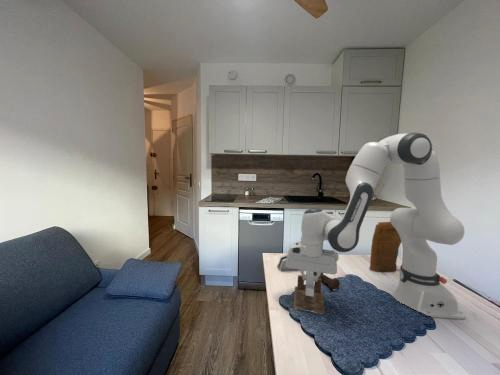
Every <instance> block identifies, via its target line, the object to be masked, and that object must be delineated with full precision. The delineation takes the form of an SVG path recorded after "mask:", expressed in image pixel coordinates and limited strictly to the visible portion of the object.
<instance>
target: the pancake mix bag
mask: <svg viewBox="0 0 500 375" xmlns="http://www.w3.org/2000/svg"><path fill="white" fill-rule="evenodd" d="M373 232H374V233H373V236H372V240H371V246H370V247H371V249H370V263H369V269H368V270H369V271H372V272H376V273H385V272H396V271H397V270H398V269H397V267H398V266H397V260H398V256H399V249H400V247H401V246H400V245H402V242H401V239H400V236H399V234H398V232H397V231H396V229H395V228H394V227H393V226H392V224H391V221H382V222H377V224H375V227H374V231H373Z"/></svg>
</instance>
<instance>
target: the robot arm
mask: <svg viewBox="0 0 500 375" xmlns="http://www.w3.org/2000/svg"><path fill="white" fill-rule="evenodd" d="M389 163H390V164H399V165H400V164H402V166H403V169H404V172H403V180H404V196H405V198H406V200H408V201H409V202H410V203H411V204H412V205H413V206H414V207H415V208H413V207H397V208H395V209H394V210H393V211H392V212H391V215H390V221H389V222H391V224H392V226H393V227H394V228H395V229H396V231H397V232H398V234H399V236H400V239H401V245H402V259H401V260H402V262H401V265H400V268H399V269H400V270H399V274H398V275H399V276H398V277H399V282H398V286H397V288H396V290H395V293H394V296H393V297H394V298H395V300H396V301H397V302H398V301H399V302H400V303H399V302H398V303H399V304H401V303H402V304H405V305H407V306H409V307H411V308H412V309H414V310H417V311H419V312H422V313H424V314H426V315H428V316H431V317H430V318H441V319H455V320H465V319H466V313H465V312H464V311H463V309H462V308H461V307H460V306H459V305H458V300H457V297H456V296H455V295H454V294H453V292H452V291H451V290H449V289H448V288H447V287H446V286H444V285H445V284H447V283H448V280H447V279H446V278H445V277H443V276H441V275H440V274H438V273H437V265H438V255H437V253H436V252H435V250H434V249H433V248H432V247H431V246H430V245H429V243H428V242H427V241H430V242H433V243H436V244H440V245H441V244H442V245H447V246H453V245H456V244H458V243H460V242H461V241H462V239H463V238H464V235H465V227H464V224H463V223H462V222H461V221H460V220H459V219H457V217H456V216H454V215H453V214H452V213H451V211H450V210H449V209H448V208H447V206H446V204H445V202H444V199H443V196H442V190H441V170H440V164H439V159H438V154H437V153H436V152H435V151H434V150H433V144H432V141H431V139H430V138H429V137H428V135H426V134H424V133H421V132H410V133H409V132H407V133H397V134H393V135H387V136H384V137H382V138H380V139H378V140H377V141H369V142H366V143H365V144H364V145H362V147H361V148H360V150H359V151H357V153H356V155H355V157H354V159H353V160H352V162H351V164H350V165H349V168H348V170H347V173H346V176H345V184H346V187H347V188H348V191H349V197H350V198H349V201H348V204H347V205H346V206H347V207H346V208H345V211H344V214H343V216H342V218H339V217H337V216H334V215H331V214H329V213H327V212H326V211H325V210H323V209H322V208H310V209H307V210H305V211H304V212H303V215H302V219H301V229H300V230H301V237H300V240H299V241H293V242H291V243H290V244H289V250H288V251H287V254H286V255H287V258H286V267H287V268H291V269H296V270H298V271H300V275H302V276H303V279H302V280H304V281H306V273H305V272H306V271H312V272H317V275H316V276H314V283H315V282H317V279H318V278H319V276H320V275H321V273H323V274H325V275H334V276H335V275H336V274H337V273H338V265H337V262H338V261H339V254H338V252H339V253H349V252H350V251H351V252H352V251H353V250H354V249H355V248H356V247H357V246H358V245H359V244H358V243H359V241H360V231H361V226H362V224H363V221H364V218H365V216H366V214H367V212H368V209H369V207H370V204H371V202H372V199H373V195H374V190H375V188H376V185H377V183H378V181H379V178H380V177H381V176H382V174H383V172H384V168H385V167H386V166H387V165H388V164H389ZM324 241H328V243H329V245H330V247H331V248H332V249H333V250H329V249H324ZM304 271H305V272H304ZM443 284H444V285H443ZM402 304H401V305H402ZM412 309H411V310H412ZM414 310H413V311H414Z"/></svg>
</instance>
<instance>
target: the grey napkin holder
mask: <svg viewBox="0 0 500 375" xmlns="http://www.w3.org/2000/svg"><path fill="white" fill-rule="evenodd" d="M286 258H287V254H284V255H281V256H280V259H279V261H278V263H277V265H276V266H278V267H277V268H278V270H279V271H280V270H282V271H291V270H292V271H294V270H293V269H291V268H287V267H286Z"/></svg>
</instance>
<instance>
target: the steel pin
mask: <svg viewBox="0 0 500 375" xmlns="http://www.w3.org/2000/svg"><path fill="white" fill-rule="evenodd" d="M305 275H306V280H305V285H306V295H307V296H313V297H314V283H315V282H314V274H313V272H312V271H305Z"/></svg>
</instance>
